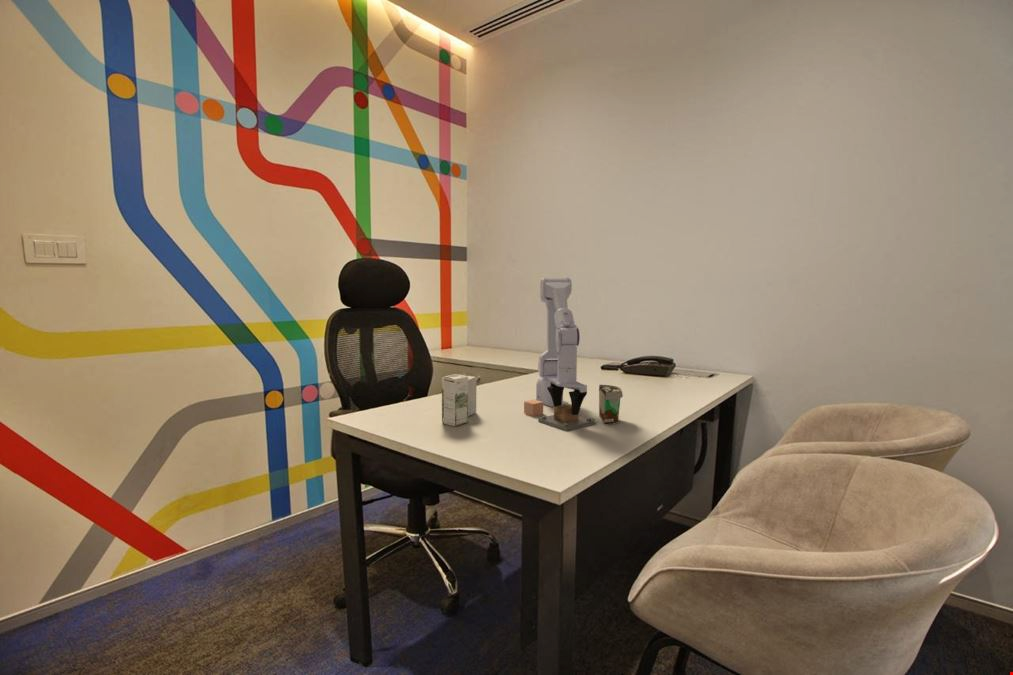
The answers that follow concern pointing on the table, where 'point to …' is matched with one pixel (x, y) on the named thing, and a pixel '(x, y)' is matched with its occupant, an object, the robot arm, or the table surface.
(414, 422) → the table surface
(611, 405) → the food container
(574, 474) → the table surface
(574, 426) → the base plate
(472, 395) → the skincare box
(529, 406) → the terracotta block
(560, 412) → the walnut brick
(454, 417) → the syrup box
